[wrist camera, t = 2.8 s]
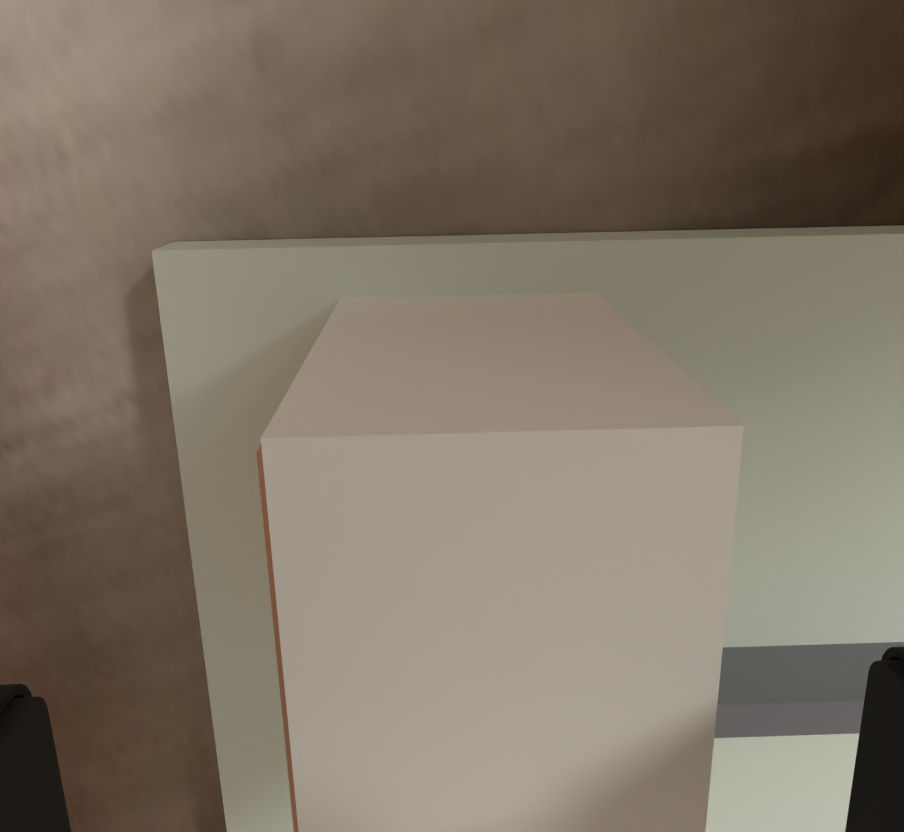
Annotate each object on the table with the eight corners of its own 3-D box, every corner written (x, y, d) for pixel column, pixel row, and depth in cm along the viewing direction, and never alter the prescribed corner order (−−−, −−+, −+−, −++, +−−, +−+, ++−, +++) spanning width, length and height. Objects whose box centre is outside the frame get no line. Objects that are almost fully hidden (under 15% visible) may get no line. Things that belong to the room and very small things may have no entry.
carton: (597, 292, 16) (743, 425, 9) (586, 608, 18) (695, 935, 11) (330, 299, 16) (241, 439, 9) (350, 616, 18) (295, 950, 11)
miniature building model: (1131, 220, 18) (1293, 238, 14) (979, 884, 23) (1070, 1008, 20) (174, 241, 17) (113, 265, 14) (255, 910, 23) (225, 1041, 20)
